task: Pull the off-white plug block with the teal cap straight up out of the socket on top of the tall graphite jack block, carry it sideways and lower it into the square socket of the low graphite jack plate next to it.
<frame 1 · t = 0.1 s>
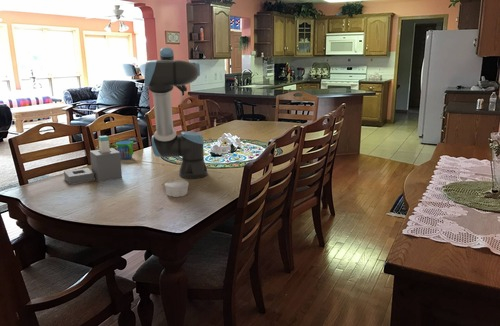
hand: (171, 98, 255), 36 cm above the table, tool tilted 35°, fingers open, 13 cm apart
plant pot: (108, 165, 238), on the table
plug: (105, 157, 212), point 11 cm above the table, touching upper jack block
snack cup: (125, 158, 254), on the table
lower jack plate: (79, 179, 211), on the table
ramekin: (177, 194, 191), on the table
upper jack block: (107, 177, 215), on the table
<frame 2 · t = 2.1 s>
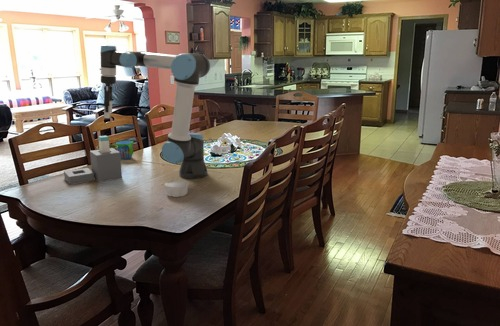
hand: (108, 115, 219), 31 cm above the table, tool pointing down, fingers open, 13 cm apart
nothing on the table moved.
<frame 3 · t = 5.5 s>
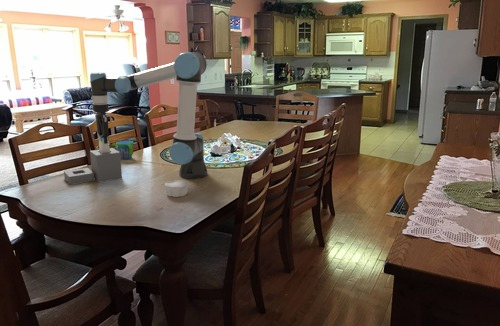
hand: (104, 148, 211), 16 cm above the table, tool pointing down, fingers closed on plug, 4 cm apart
plug: (105, 157, 212), point 11 cm above the table, touching gripper, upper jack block
everything else where it was.
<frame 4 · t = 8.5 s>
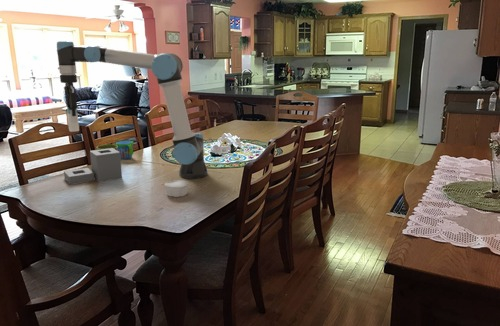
hand: (73, 121, 203), 30 cm above the table, tool pointing down, fingers closed on plug, 4 cm apart
plug: (74, 130, 204), point 26 cm above the table, touching gripper
everything else where it was.
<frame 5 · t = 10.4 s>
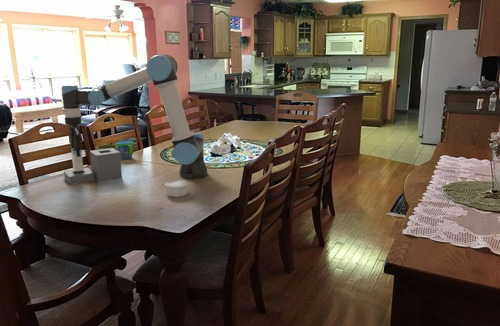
hand: (77, 161, 208), 10 cm above the table, tool pointing down, fingers closed on plug, 4 cm apart
plug: (78, 169, 210), point 5 cm above the table, touching gripper
everything else where it was.
when the fingers open (6 cm above the table, at t = 11.9 s): plug drops 1 cm, resting in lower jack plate.
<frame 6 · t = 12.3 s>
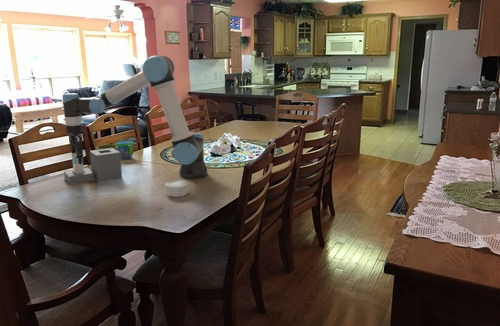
hand: (78, 167, 209), 7 cm above the table, tool pointing down, fingers open, 9 cm apart
plug: (79, 179, 211), resting in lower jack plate
everything else where it was.
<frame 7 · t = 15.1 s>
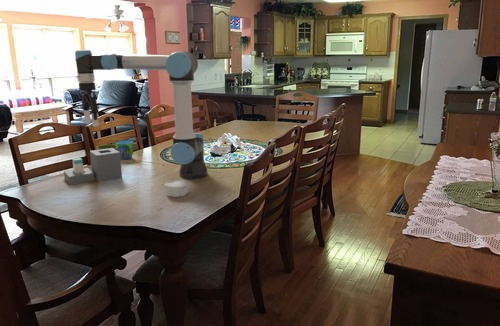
hand: (91, 124, 207), 28 cm above the table, tool pointing down, fingers open, 13 cm apart
nothing on the table moved.
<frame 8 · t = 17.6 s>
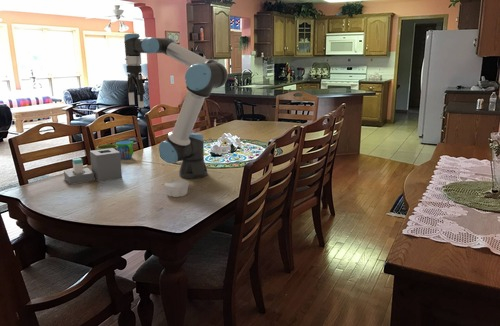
hand: (136, 106, 214), 37 cm above the table, tool pointing down, fingers open, 13 cm apart
nothing on the table moved.
at the end: plug 0.1 cm off-centre on the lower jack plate, point 0.0 cm above the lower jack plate's base; plug tilted 0°; the gripper is holding nothing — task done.
